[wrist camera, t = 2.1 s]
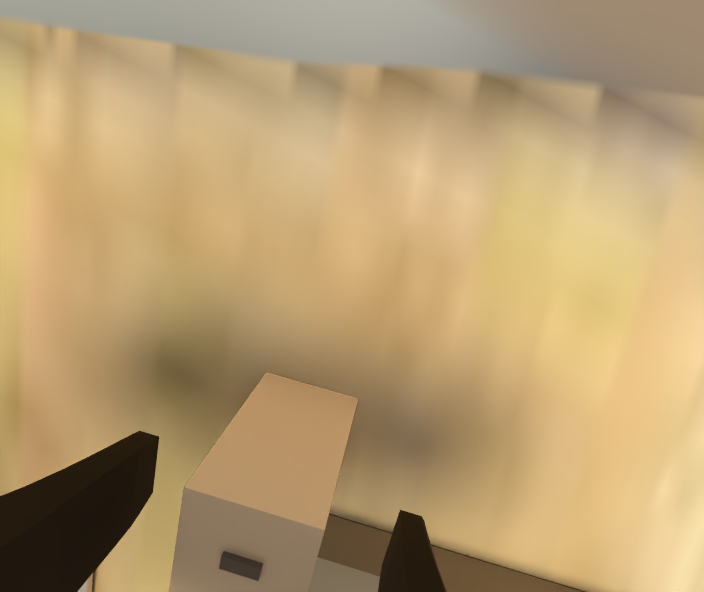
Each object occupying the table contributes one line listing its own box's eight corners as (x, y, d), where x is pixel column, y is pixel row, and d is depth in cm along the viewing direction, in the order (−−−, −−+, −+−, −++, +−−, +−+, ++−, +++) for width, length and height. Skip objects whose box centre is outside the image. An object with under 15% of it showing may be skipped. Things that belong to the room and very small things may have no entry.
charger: (251, 450, 17) (165, 598, 11) (266, 372, 16) (180, 492, 10) (337, 475, 17) (294, 640, 11) (358, 398, 16) (323, 535, 10)
